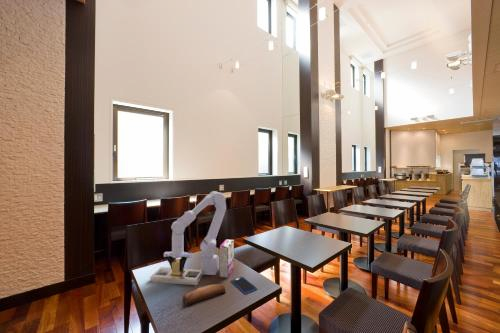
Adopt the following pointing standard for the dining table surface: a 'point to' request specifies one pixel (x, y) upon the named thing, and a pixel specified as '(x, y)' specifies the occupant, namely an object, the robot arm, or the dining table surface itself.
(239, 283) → the cell phone
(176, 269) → the brass block
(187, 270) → the white compartment tray
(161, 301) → the dining table surface
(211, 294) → the brown rounded bar
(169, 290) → the dining table surface
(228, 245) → the candy bar box
